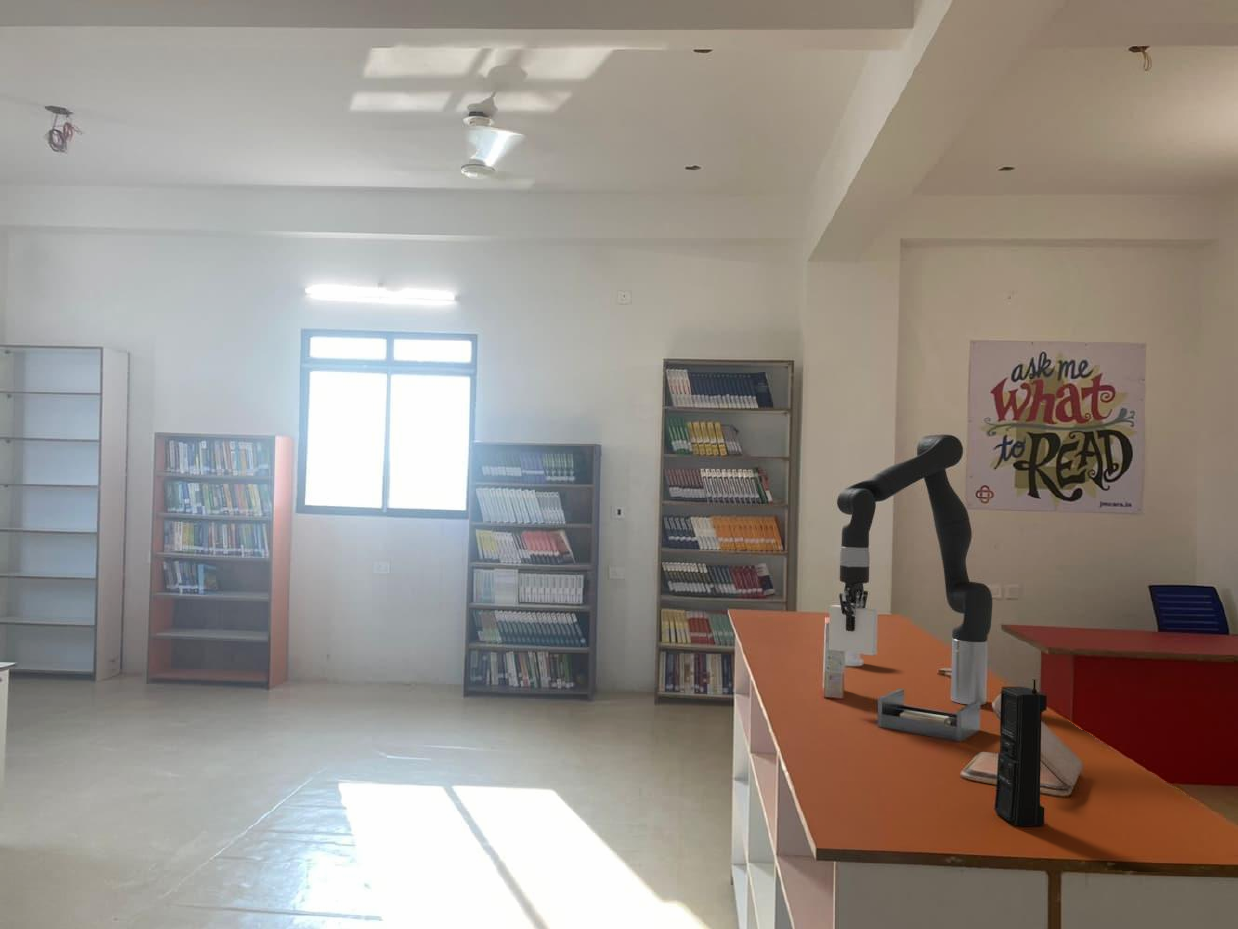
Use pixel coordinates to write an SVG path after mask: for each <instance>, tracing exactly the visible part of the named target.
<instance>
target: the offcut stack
mask: <svg viewBox="0 0 1238 929" xmlns="http://www.w3.org/2000/svg"><path fill="white" fill-rule="evenodd" d="M900 717H902V718H908V719H914V720H919V721H925V722H931V723H937V724H942V725H948V726H950V724H951V722H950V721H949V716H942V715H935V714H929V713H922V712H915V711H909V710H906V711H904V712H903V713H901V714H900Z"/></svg>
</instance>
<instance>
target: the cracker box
mask: <svg viewBox="0 0 1238 929" xmlns="http://www.w3.org/2000/svg"><path fill="white" fill-rule="evenodd" d="M829 618H830V616H827V617H824V634H823V636H824V637H823V640H824V641H823V663H822V664H823V665H822V666H823V667H822V668H823V669H822V693H823V694H822V695H823V698H825V699H826V698H827V699H836V700H844V698H845V672H846V669H845V668H846V666H845V652H844V651H837V650H829Z"/></svg>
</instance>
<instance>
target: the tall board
mask: <svg viewBox="0 0 1238 929" xmlns="http://www.w3.org/2000/svg"><path fill="white" fill-rule="evenodd" d="M878 612H879V609H876V608H875V609H874V608H868V607H867V608H866V607H865V608H858V607H857V608H856V611H855V630H854V631H847V630H846V616H845V614H842V610H841V605H838V604H834V605H833V604H831V605H829V617H830V618H829V650H837V651H844V652H851V653H859V654H860V655H866V656H874V655H877V654H878V651H877V648H878V617H879V616H878V615H879V614H878Z"/></svg>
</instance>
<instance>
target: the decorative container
mask: <svg viewBox="0 0 1238 929" xmlns="http://www.w3.org/2000/svg"><path fill="white" fill-rule="evenodd" d="M863 665H864V660H863V658H861V654H859V653H851V652H845V667H861V666H863Z"/></svg>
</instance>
